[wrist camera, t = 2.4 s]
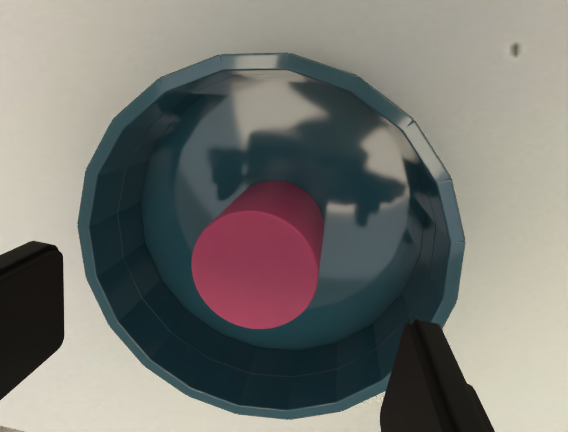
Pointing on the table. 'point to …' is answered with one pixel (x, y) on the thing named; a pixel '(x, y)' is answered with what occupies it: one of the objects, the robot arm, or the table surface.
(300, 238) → the pink cylinder block
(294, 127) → the bowl
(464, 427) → the robot arm
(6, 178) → the table surface
